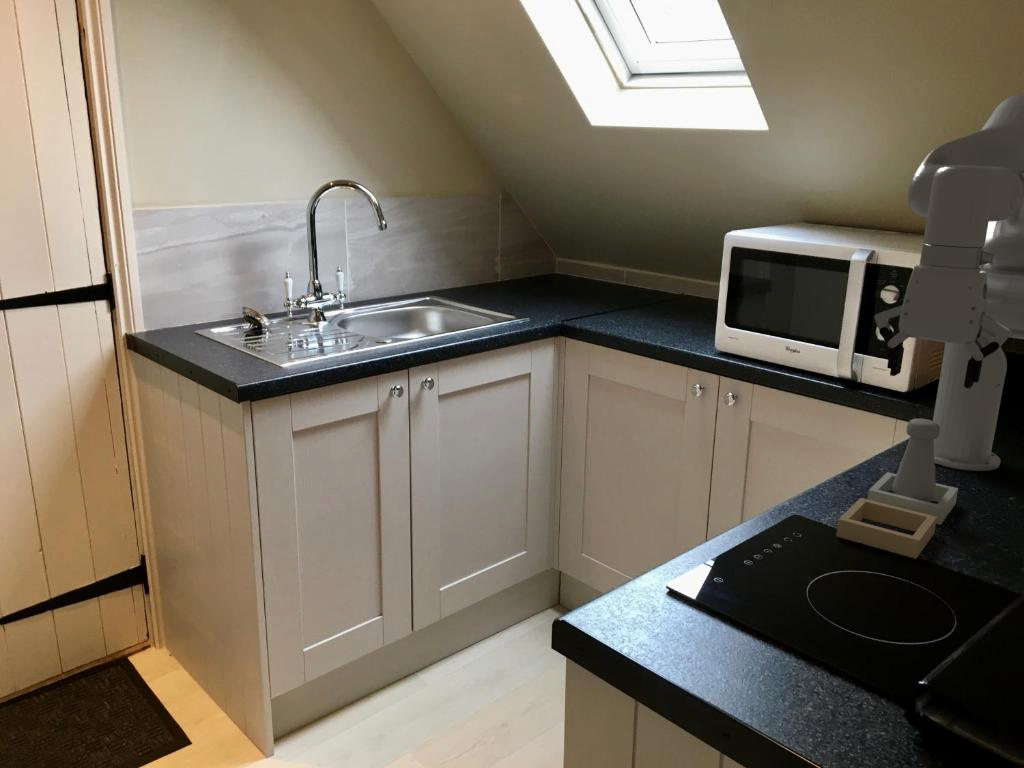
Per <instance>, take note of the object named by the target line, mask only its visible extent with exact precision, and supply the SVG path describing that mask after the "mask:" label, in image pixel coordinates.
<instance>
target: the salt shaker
mask: <svg viewBox="0 0 1024 768" xmlns="http://www.w3.org/2000/svg"><path fill="white" fill-rule="evenodd" d="M905 431H906V434H907V435H908V436H909V440H908V442H907V446H906V449H905V451H904V455H903V457H902V459H901V461H900V464H899V467H898V470H897V472H896V474H897V475H896V477H895V480H894V482H893V485H892V491H891V492H892V493H893V494H897V495H901V496H905V497H910V498H914V499H918V500H922V501H926V502H930V503H932V502H933V501H932V500H933V498H934V497H935V494H936V483H937V482H936V463H935V458H934V439H937V438H938V436H939V433H940V426H939V425H938V424H937V423H936V422H934V421H933V420H931V419H927V418H913V419H910V420H909V421H908V422H907V425H906V430H905Z"/></svg>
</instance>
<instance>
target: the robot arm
mask: <svg viewBox="0 0 1024 768" xmlns="http://www.w3.org/2000/svg"><path fill="white" fill-rule="evenodd" d="M908 187H909V188H908V193H907V200H908V201H907V202H908V206H909V208H910V209H911V211H912V212H913V214H916V215H917V216H918V217H921V218H926V223H925V229H924V235H923V241H922V246H921V247H922V248H921V253H920V259H919V265H915V266H914V267H913V269H912V272H911V273H910V277H909V281H908V284H907V287H906V290H905V291H906V292H905V295H904V297H903V298H904V299H903V303H902V305H899V306H897V307H892V308H891V309H888V310H884V311H881V312H879V313H876V314H875V315H874V317H873V319H874V321H875V323H876V326H877V328H878V333H879V335H880V336H881V337H882V338H883V340H884V341H885V343H886V344H887V346H888V348H889V352H888V360H887V366H886V367H887V369H890V371H889V376H890V377H895V376H897V375H899V374H901V373H902V372H901V371H902V365H903V358H904V352H905V351H904V350H905V347H904V346H903V343H904V342H905V341H906V340H907V339H909V338H913V339H919V340H925V341H926V340H927V341H933V342H939V343H940V342H941V343H944V349H943V350H944V351H943V357H942V363H941V370H940V376H939V382H938V387H937V393H936V400H935V405H934V411H933V412H934V413H933V418H932V421H934V422H936V423H937V424H938V425H939V426H940V433H939V436H938V438H937V439H934V458H935V465H940V466H943V467H946V468H951V469H957V470H962V471H973V472H987V471H993V470H996V469H998V468H999V467H1000V466H1001V465H1000V464H1001V458H1000V457H999V456H998V455H997V454H996V453H994V452H992V448H993V444H994V438H995V432H996V427H997V422H998V417H999V412H1000V411H999V410H1000V406H1001V401H1002V394H1003V390H1004V385H1005V378H1006V375H1007V371H1008V370H1007V369H1008V364H1007V363H1008V362H1007V358H1006V355H1005V352H1004V351H1003V349H1002V346H1003V344H1004V343H1005V342H1006V341H1007V340H1008V338H1012V339H1020V340H1024V93H1020V94H1015V95H1012V96H1010V97H1008V98H1006V99H1004V100H1003V101H1002V102H1000V103H999V105H998V106H997V107H996V108H995V109H994V111H993V112H992V113H991V115H990V116H989V118H987V121H986V122H985V124H984V125H983V127H982V128H981V129H980V130H978V131H977V130H976V131H975V132H973V133H970V134H967V135H964V136H962V137H959V138H956V139H954V140H953V139H952V140H950V141H947V142H946V143H943V144H940V145H939V146H937V147H935V148H934V149H933V150H931V151H930V152H929V153H928V154H927V155H926V156H925V157H924V159H923V160H922V162H921V163H920V164H919V166H918V167H917V169H916V170H915V172H914V174H913V175H912V178H911V181H910V183H909V186H908ZM898 316H899V321H898V330H899V332H898V333H895V332H894V330H892V329H891V327H890V325H889V320H890V319H893V318H896V317H898Z"/></svg>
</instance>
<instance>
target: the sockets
mask: <svg viewBox="0 0 1024 768" xmlns="http://www.w3.org/2000/svg"><path fill="white" fill-rule="evenodd" d="M896 475H897V473H892V472H888V471H887V472H885V473H884V474H883V476H881V477H880V478H879V479H878V480H877V481H876V482H875V483H874V484H873V485H872V486H871V487H870V488H869V489H868V492H867V498H863V497H860V498H859V499H858V500H857V501H856V502H855V503H853V504H852V505H851V506H850V507H849V508H848V509H847V511H845V513H843V514H842V515H841V516H840V517H839V518H838V520H837V526H836V527H837V529H836V537H837V538H840V539H844V540H847V541H850V542H851V541H852V542H854V543H858V544H861V543H862V544H861V545H866V546H870V547H872V548H876V549H879V548H880V550H883V549H884V550H883V551H887V550H888V552H891V553H894V554H898V555H901V556H905V557H908V558H912V559H917V558H918V557H919V556H920V554H921V553H922V551H923V550H924V548H925V547H926V546H927V544H928V543H929V542H930V540H932V537H933V536H934V535H935V530H936V525H940V526H941V525H942V524H943V523H944V521H945V520H946V519H947V517H948V515H949V514H950V513H951V511H952V510H953V508H954V507H955V505H956V503H957V498H958V491H959V488H958V487H954V486H949V485H944V484H941V483H937V482H936V494H935V497H934V498H933V500H932V501H931V502H926V501H922V500H918V499H914V498H910V497H905V496H901V495H897V494H894V493H893V491H892V485H893V482H894V480H895V477H896ZM933 502H934V503H933ZM864 519H866V520H868V521H869V520H870V521H872V522H877V523H880V524H885V525H888V526H892V527H897V528H899V529H904V530H907V531H911V532H914V533H913V535H912V534H907V533H904V532H899V531H896V530H893V529H888V528H884V527H881V526H877V525H873V524H869V523H866V522H862V521H863V520H864Z"/></svg>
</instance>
